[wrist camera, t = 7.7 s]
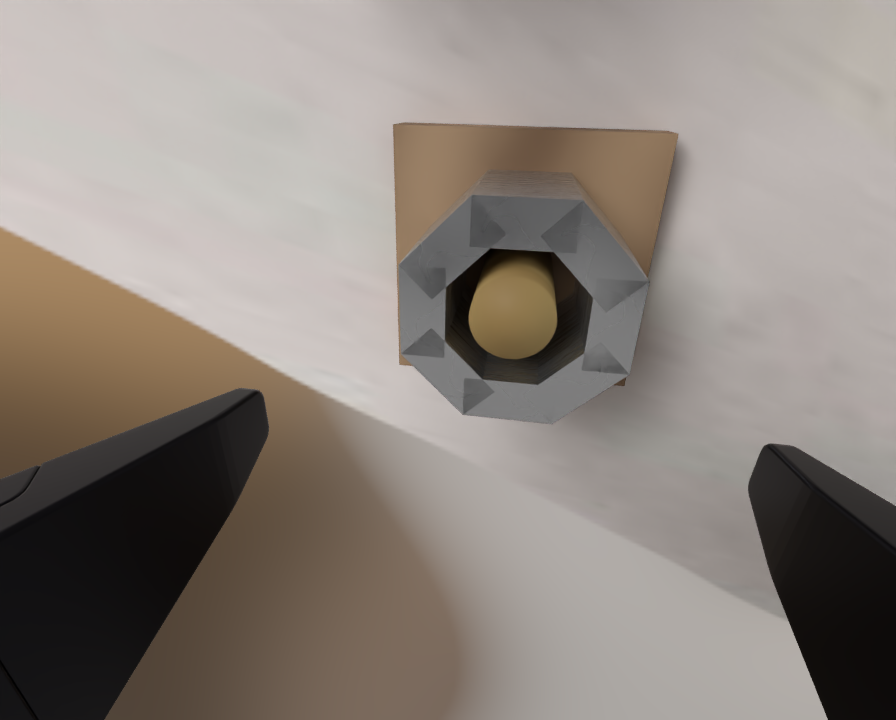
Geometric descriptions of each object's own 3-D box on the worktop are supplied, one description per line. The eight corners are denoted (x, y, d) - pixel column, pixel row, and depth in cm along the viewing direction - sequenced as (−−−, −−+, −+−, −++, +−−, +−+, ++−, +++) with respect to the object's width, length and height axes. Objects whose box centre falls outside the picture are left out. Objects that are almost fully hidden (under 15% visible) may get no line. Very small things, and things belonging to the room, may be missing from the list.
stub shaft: (667, 130, 17) (734, 148, 11) (618, 367, 21) (649, 468, 15) (403, 122, 18) (341, 134, 12) (407, 348, 22) (362, 435, 16)
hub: (631, 174, 16) (666, 203, 12) (599, 355, 19) (617, 430, 15) (432, 166, 17) (396, 191, 13) (431, 340, 20) (402, 408, 16)
